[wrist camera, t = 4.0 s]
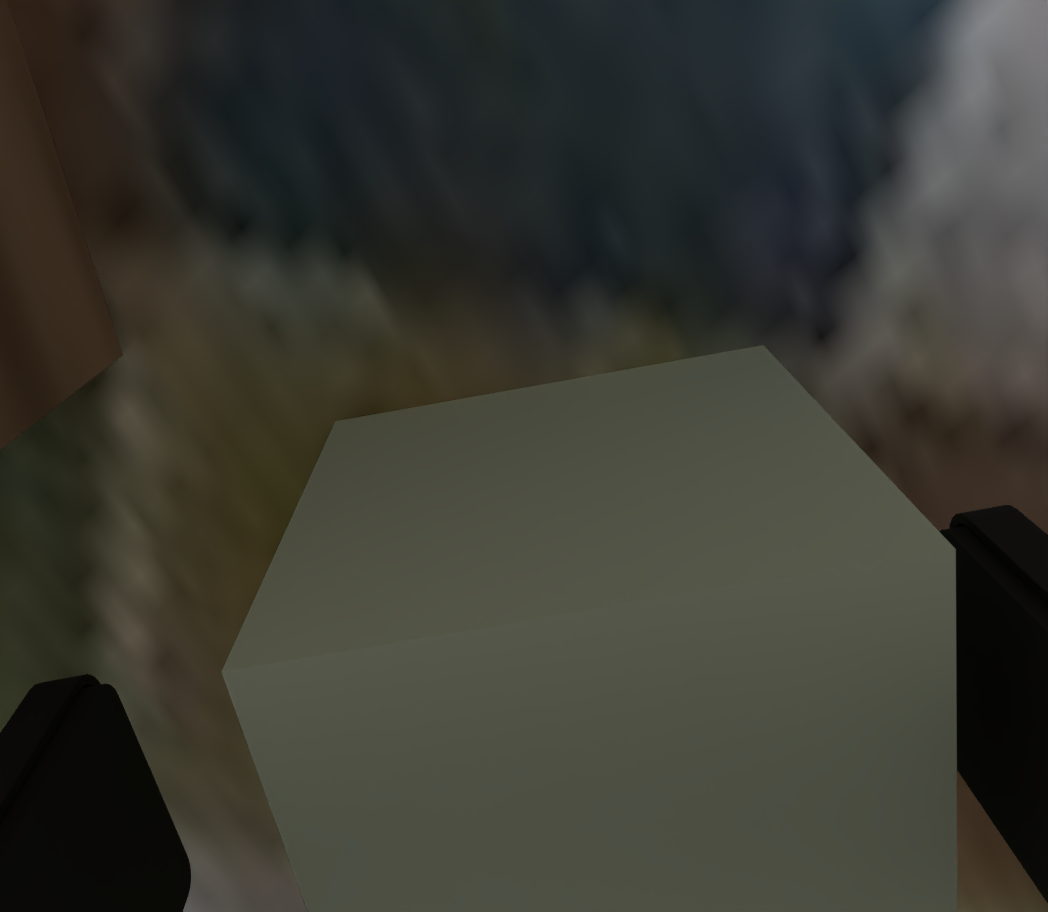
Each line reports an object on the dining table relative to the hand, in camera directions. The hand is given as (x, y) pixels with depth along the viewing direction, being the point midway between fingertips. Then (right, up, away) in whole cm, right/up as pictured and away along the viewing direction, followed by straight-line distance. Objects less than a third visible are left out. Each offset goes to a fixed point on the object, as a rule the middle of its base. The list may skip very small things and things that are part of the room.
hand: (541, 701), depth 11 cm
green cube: (+1, +1, +4) cm, 4 cm away
